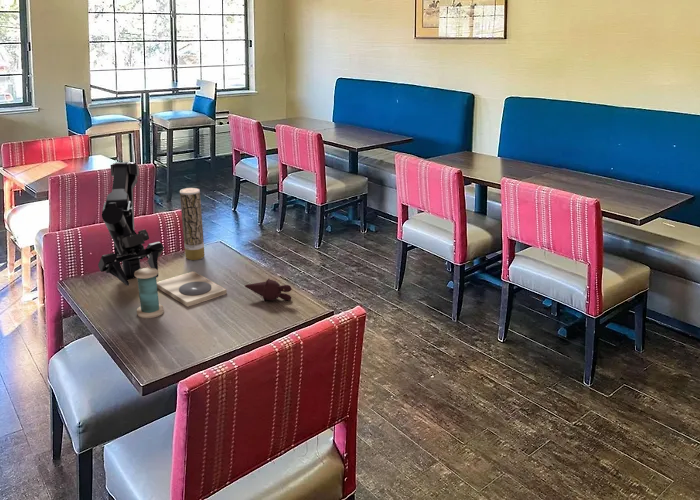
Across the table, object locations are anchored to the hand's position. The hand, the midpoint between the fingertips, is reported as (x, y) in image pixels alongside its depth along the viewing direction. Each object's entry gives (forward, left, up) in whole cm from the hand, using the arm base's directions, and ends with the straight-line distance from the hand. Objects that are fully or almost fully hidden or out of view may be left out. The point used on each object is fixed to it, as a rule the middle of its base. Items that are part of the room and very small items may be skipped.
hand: (143, 280), depth 190 cm
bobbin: (+2, 0, -9) cm, 10 cm away
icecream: (+19, +32, -10) cm, 38 cm away
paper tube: (-28, +33, -10) cm, 44 cm away
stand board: (-4, +17, -9) cm, 20 cm away
